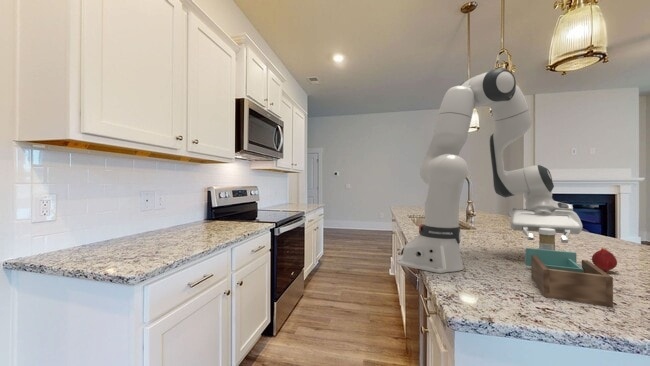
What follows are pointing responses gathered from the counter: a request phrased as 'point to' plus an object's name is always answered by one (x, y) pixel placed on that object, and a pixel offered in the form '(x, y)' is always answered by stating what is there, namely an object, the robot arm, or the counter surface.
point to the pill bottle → (547, 238)
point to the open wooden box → (574, 283)
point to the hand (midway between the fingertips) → (547, 240)
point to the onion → (604, 260)
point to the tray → (554, 259)
